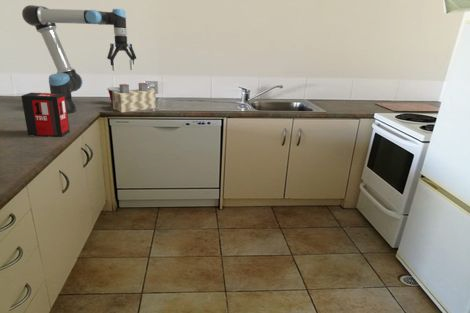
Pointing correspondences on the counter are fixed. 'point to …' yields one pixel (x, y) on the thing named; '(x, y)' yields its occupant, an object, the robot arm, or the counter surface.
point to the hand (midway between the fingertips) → (123, 70)
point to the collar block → (133, 100)
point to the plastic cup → (112, 91)
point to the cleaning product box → (46, 114)
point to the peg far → (143, 87)
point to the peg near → (124, 88)
